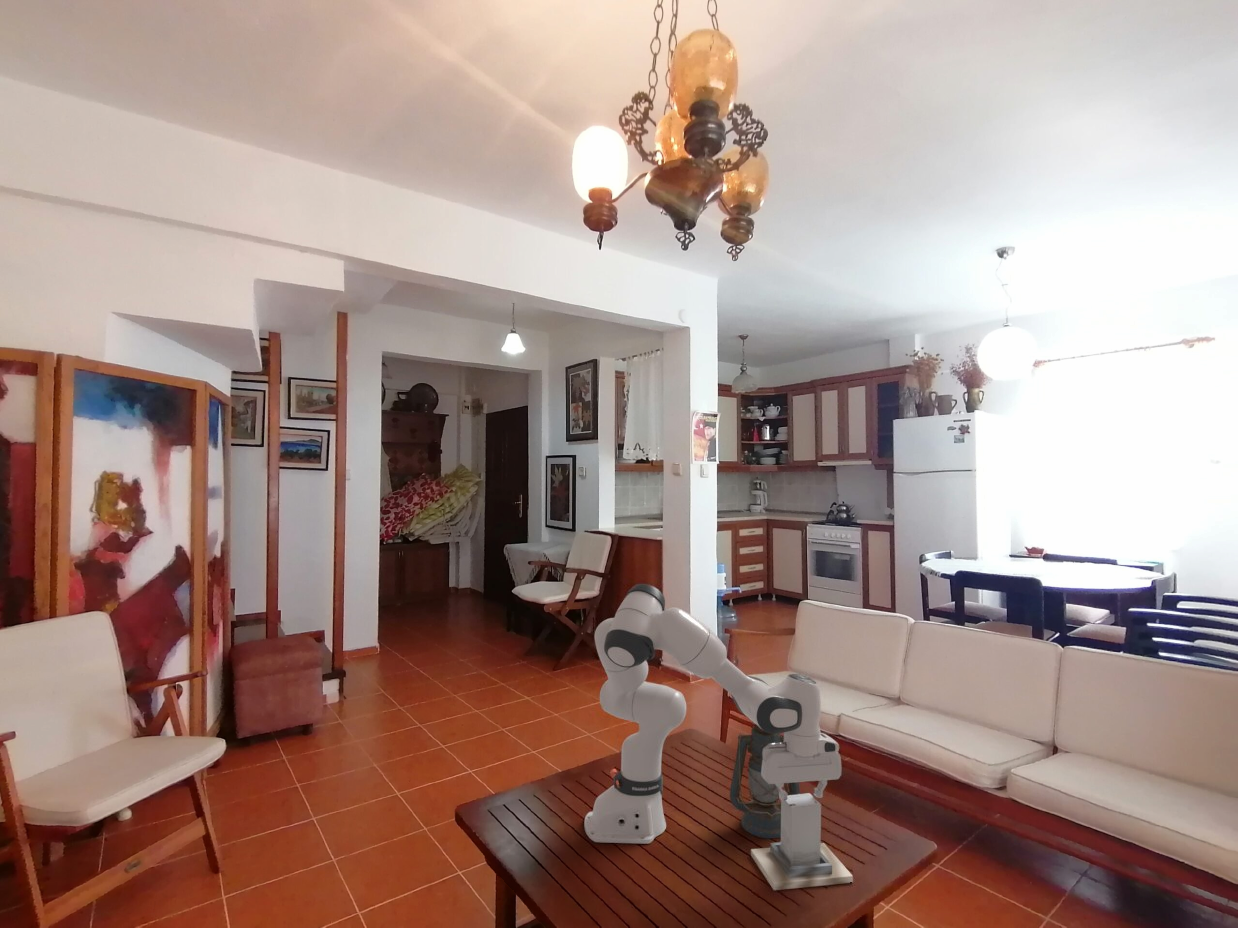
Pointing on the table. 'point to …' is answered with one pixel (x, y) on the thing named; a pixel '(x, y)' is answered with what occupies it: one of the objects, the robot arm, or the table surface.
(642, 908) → the table surface
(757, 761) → the lantern
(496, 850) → the table surface
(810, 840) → the skincare box
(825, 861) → the board
